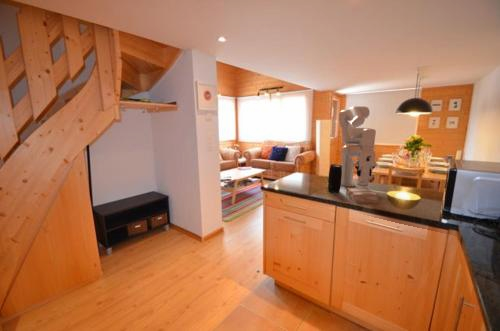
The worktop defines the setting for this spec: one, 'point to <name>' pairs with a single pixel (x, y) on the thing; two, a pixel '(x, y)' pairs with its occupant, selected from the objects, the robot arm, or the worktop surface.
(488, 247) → the worktop surface
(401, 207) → the worktop surface
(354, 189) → the wood stand
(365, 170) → the travel mug
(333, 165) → the portable speaker
